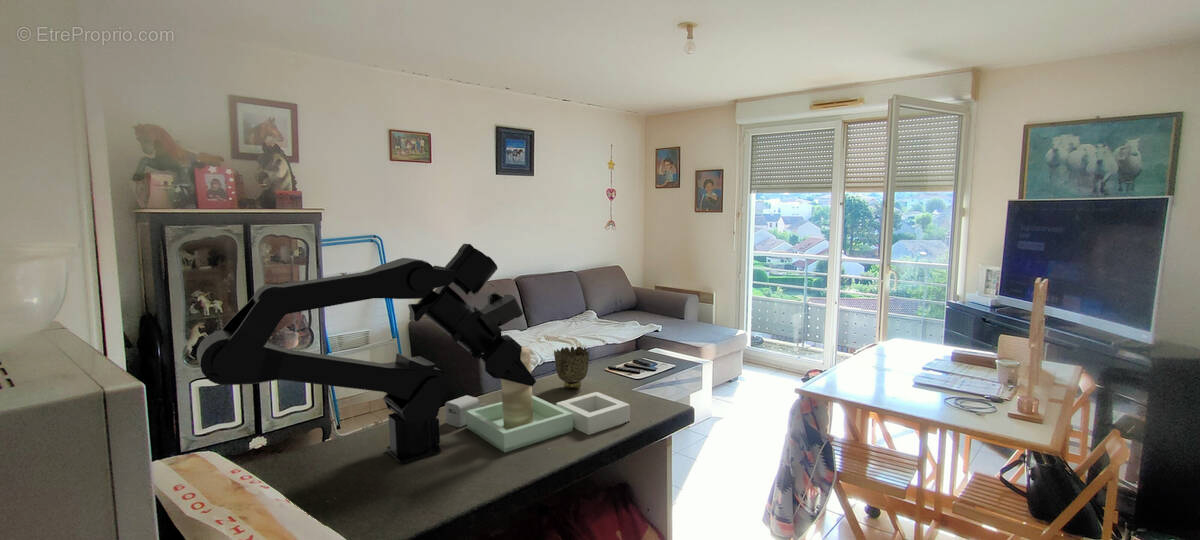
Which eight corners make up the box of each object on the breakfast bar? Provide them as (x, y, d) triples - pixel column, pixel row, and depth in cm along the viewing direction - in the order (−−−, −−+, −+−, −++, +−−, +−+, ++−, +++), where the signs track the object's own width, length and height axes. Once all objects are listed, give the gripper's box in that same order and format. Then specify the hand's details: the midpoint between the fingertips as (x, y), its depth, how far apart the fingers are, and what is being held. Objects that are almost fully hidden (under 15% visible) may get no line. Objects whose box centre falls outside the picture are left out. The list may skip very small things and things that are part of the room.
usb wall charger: (445, 423, 98) (444, 401, 97) (476, 411, 103) (475, 390, 103) (460, 428, 95) (459, 405, 95) (491, 416, 101) (490, 394, 101)
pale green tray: (504, 452, 85) (504, 433, 85) (466, 427, 95) (466, 410, 95) (572, 430, 94) (572, 413, 93) (531, 410, 104) (531, 394, 103)
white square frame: (588, 434, 92) (588, 417, 91) (556, 419, 99) (556, 402, 98) (629, 421, 97) (629, 404, 97) (597, 407, 105) (596, 391, 104)
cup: (549, 385, 118) (548, 348, 117) (581, 380, 121) (581, 344, 120) (562, 395, 111) (561, 356, 110) (595, 390, 114) (595, 352, 114)
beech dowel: (513, 433, 91) (509, 356, 90) (498, 425, 95) (494, 350, 93) (539, 425, 94) (535, 350, 93) (523, 417, 98) (520, 345, 97)
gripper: (506, 286, 82) (577, 351, 87) (479, 274, 99) (540, 329, 104) (453, 345, 79) (530, 408, 85) (435, 322, 96) (499, 375, 102)
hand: (525, 376), depth 94 cm, fingers open, 9 cm apart
